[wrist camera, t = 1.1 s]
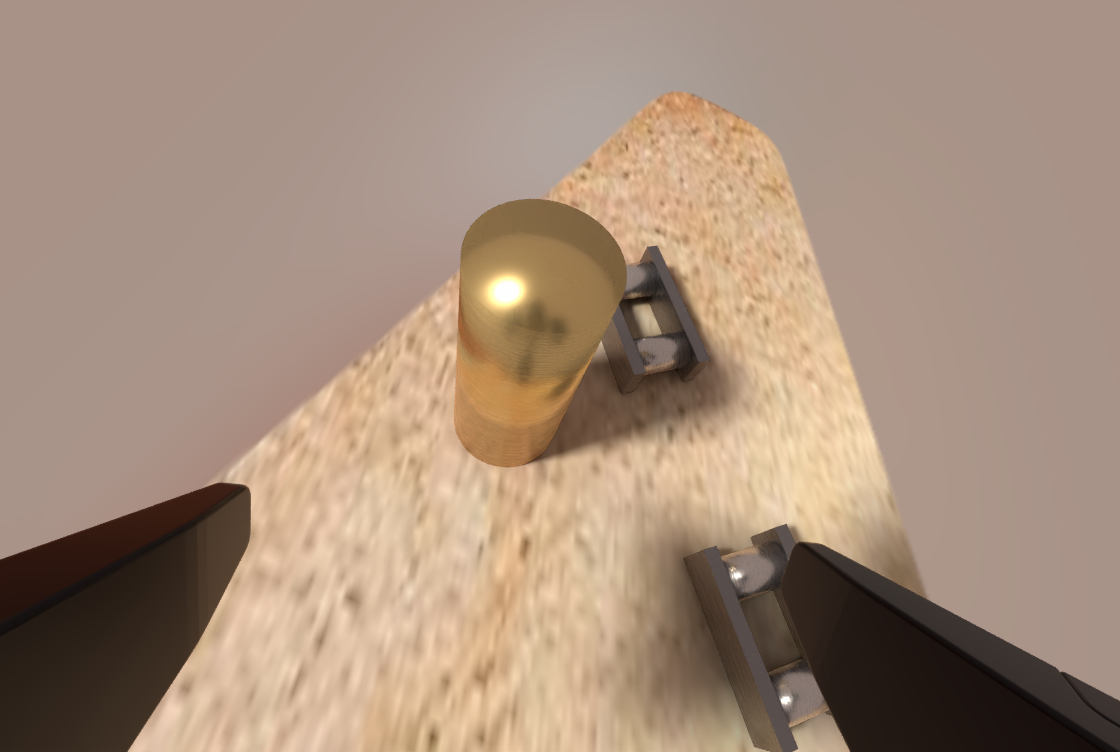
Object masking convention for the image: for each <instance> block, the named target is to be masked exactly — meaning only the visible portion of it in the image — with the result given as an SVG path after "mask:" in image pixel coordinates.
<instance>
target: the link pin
mask: <svg viewBox="0 0 1120 752" xmlns="http://www.w3.org/2000/svg"><path fill="white" fill-rule="evenodd" d="M626 282H627V269H626V263H625V260H624V256H623V254H622V252H621V249H620V247H619V246H618V244H617V242H616V241H615V239H614V238H613V237H612V235H611V234H610V233H609V232H608V231H607V230H606V229H605V228H604V227H603V226H602V225H601V224H600V223H599V222H597V221H596V220H595V219H593V218H592V217H590V216H589V215H587V214H586V213H584V212H582V211H580V210H578V209H576V208H573V207H571V206H568V205H565V204H562V203H559V202H554V201H549V200H541V199H524V200H516V201H511V202H507V203H504V204H501V205H498V206H496V207H494V208H492V209H490V210H488V211H487V212H485V213H484V214H483V215H481V216H480V217H479V218H478V219H477V220H476V221H475V222H474V223H473V224H472V225H471V227H470V228H469V230H468V231H467V233H466V235H465V238H464V240H463V244H462V248H461V264H460V288H459V312H458V336H457V361H456V385H455V409H454V424H455V429H456V433H457V435H458V438H459V440H460V441H461V443H462V445H463V446H464V447H465V448H466V450H467V451H468V452H469V453H470V454H472V455H473V456H474V457H476V458H477V459H479V460H481V461H482V462H485V463H487V464H490V465H494V466H499V467H514V466H519V465H523V464H526V463H528V462H530V461H532V460H534V459H536V458H537V457H538V456H540V455H541V454H542V453H543V452H544V451H545V450H546V448H547V447H548V446H549V444H550V442H551V440H552V438H553V436H554V434H555V432H556V430H557V428H558V426H559V424H560V422H561V420H562V418H563V416H564V414H565V412H566V410H567V408H568V406H569V404H570V402H571V400H572V398H573V396H574V394H575V392H576V390H577V388H578V386H579V384H580V382H581V380H582V378H583V376H584V374H585V372H586V370H587V368H588V366H589V364H590V362H591V360H592V358H593V355H594V353H595V351H596V349H597V347H598V345H599V343H600V341H601V339H602V337H603V335H604V333H605V331H606V329H607V327H608V325H609V323H610V321H611V319H612V317H613V315H614V313H615V311H616V309H617V307H618V305H619V303H620V301H621V299H622V297H623V294H624V291H625V288H626Z"/></svg>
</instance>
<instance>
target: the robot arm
mask: <svg viewBox="0 0 1120 752" xmlns="http://www.w3.org/2000/svg"><path fill="white" fill-rule="evenodd" d="M250 531H251V493H250V490H249V488H248V487H247V486H246V485H241V484H231V483H216V484H213V485H210V486H207V487H205V488H202V489H199V490H196V491H193V492H190V493H188V494H185V495H182V496H179V497H176V498H174V499H171V500H168V501H165V502H162V503H159V504H156V505H154V506H151V507H148V508H145V509H142V510H140V511H137V512H134V513H131V514H128V515H125V516H122V517H120V518H117V519H114V520H111V521H108V522H105V523H103V524H100V525H97V526H94V527H92V528H89V529H85V530H83V531H80V532H77V533H74V534H71V535H68V536H66V537H63V538H60V539H57V540H54V541H51V542H49V543H46V544H43V545H40V546H37V547H34V548H32V549H29V550H26V551H23V552H20V553H18V554H15V555H12V556H9V557H6V558H4V559H1V560H0V752H128V750H129V749H130V747H131V745H132V744H133V742H134V741H135V739H136V738H137V736H138V735H139V733H140V732H141V730H142V729H143V727H144V726H145V724H146V722H147V721H148V719H149V718H150V716H151V715H152V713H153V712H154V710H155V709H156V707H157V706H158V704H159V703H160V701H161V699H162V698H163V696H164V695H165V693H166V692H167V690H168V689H169V687H170V686H171V684H172V683H173V681H174V679H175V678H176V676H177V675H178V673H179V672H180V670H181V669H182V667H183V666H184V664H185V663H186V661H187V660H188V658H189V656H190V655H191V653H192V652H193V650H194V648H195V647H196V645H197V643H198V642H199V640H200V638H201V637H202V635H203V633H204V631H205V629H206V627H207V625H208V624H209V622H210V620H211V618H212V616H213V614H214V612H215V610H216V608H217V606H218V604H219V602H220V600H221V598H222V596H223V594H224V592H225V590H226V588H227V586H228V584H229V582H230V580H231V578H232V576H233V574H234V572H235V570H236V568H237V566H238V564H239V562H240V561H241V559H242V557H243V555H244V553H245V551H246V548H247V546H248V543H249V539H250ZM781 593H782V597H783V600H784V602H785V605H786V607H787V610H788V613H789V615H790V618H791V620H792V623H793V625H794V628H795V631H796V633H797V636H798V638H799V641H800V644H801V646H802V649H803V651H804V654H805V656H806V659H807V662H808V664H809V667H810V669H811V672H812V674H813V676H814V679H815V681H816V683H817V685H818V687H819V690H820V692H821V694H822V696H823V698H824V700H825V702H826V704H827V706H828V708H829V710H830V712H831V714H832V716H833V718H834V720H835V722H836V724H837V726H838V728H839V730H840V732H841V734H842V736H843V738H844V740H845V742H846V744H847V746H848V748H849V750H850V752H1120V701H1119V700H1117V699H1114V698H1113V697H1111V696H1109V695H1107V694H1105V693H1103V692H1101V691H1099V690H1097V689H1095V688H1094V687H1092V686H1090V685H1088V684H1086V683H1084V682H1082V681H1080V680H1078V679H1077V678H1074V677H1073V676H1071V675H1069V674H1067V673H1065V672H1059V670H1058V669H1057V668H1056V667H1053V666H1052V665H1050V664H1048V663H1046V662H1044V661H1042V660H1040V659H1039V658H1037V657H1035V656H1033V655H1031V654H1029V653H1027V652H1025V651H1023V650H1022V649H1020V648H1018V647H1016V646H1014V645H1012V644H1010V643H1008V642H1006V641H1004V640H1003V639H1001V638H999V637H997V636H995V635H993V634H991V633H989V632H987V631H986V630H984V629H982V628H980V627H978V626H976V625H974V624H972V623H970V622H969V621H967V620H965V619H963V618H961V617H959V616H957V615H955V614H953V613H951V612H950V611H948V610H946V609H944V608H942V607H940V606H938V605H936V604H934V603H933V602H931V601H929V600H927V599H925V598H923V597H921V596H919V595H917V594H915V593H914V592H912V591H910V590H908V589H906V588H904V587H902V586H900V585H898V584H897V583H895V582H893V581H891V580H889V579H887V578H885V577H883V576H881V575H879V574H878V573H876V572H874V571H872V570H870V569H868V568H866V567H864V566H862V565H861V564H859V563H857V562H855V561H853V560H851V559H849V558H847V557H845V556H843V555H842V554H840V553H838V552H836V551H834V550H832V549H830V548H828V547H826V546H825V545H822V544H819V543H811V542H798V543H796V544H795V545H794V547H793V548H792V551H791V554H790V557H789V560H788V562H787V565H786V568H785V571H784V574H783V577H782V580H781Z"/></svg>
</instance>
